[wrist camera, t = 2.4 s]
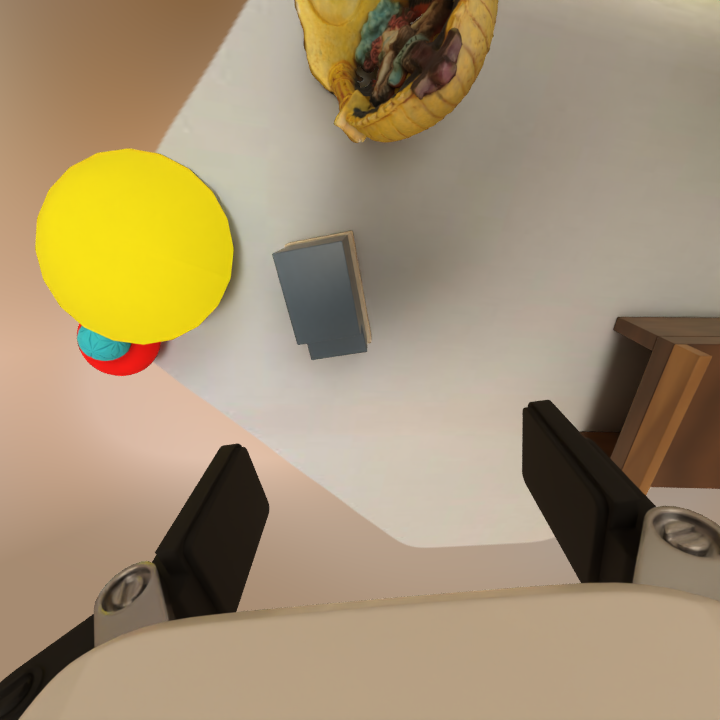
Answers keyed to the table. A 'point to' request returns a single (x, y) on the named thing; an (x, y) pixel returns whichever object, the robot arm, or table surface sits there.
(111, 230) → the toy
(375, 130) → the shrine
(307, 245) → the blue block
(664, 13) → the table surface
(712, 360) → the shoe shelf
